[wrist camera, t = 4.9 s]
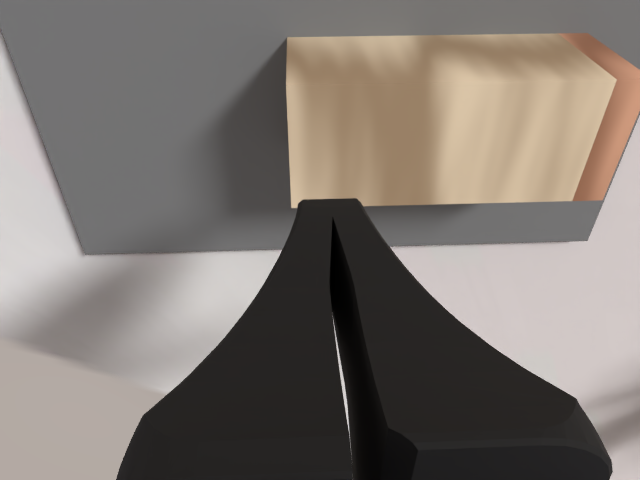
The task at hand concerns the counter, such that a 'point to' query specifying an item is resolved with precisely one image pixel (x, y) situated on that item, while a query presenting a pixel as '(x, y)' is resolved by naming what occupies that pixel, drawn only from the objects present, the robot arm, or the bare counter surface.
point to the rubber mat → (243, 114)
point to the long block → (456, 118)
